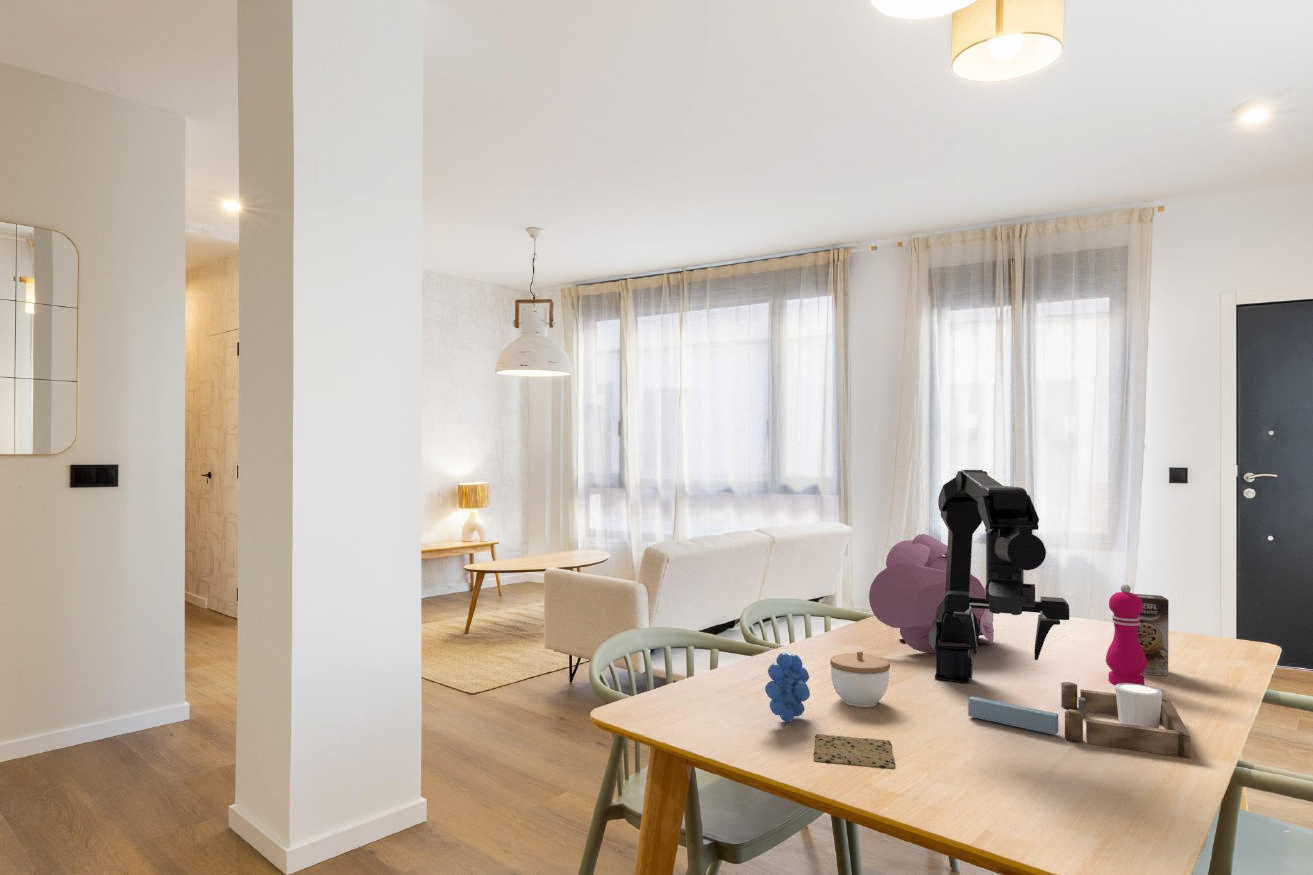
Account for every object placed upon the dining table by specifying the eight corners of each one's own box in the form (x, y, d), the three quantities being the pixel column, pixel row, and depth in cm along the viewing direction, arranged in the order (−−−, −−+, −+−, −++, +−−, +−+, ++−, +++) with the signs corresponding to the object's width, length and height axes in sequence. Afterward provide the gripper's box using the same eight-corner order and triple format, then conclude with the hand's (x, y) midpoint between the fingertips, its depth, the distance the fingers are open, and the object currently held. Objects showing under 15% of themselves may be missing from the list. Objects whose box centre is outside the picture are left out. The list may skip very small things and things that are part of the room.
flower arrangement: (925, 645, 211) (908, 540, 217) (1018, 640, 197) (997, 528, 204) (875, 658, 183) (857, 537, 189) (980, 653, 170) (957, 523, 176)
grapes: (789, 736, 128) (789, 662, 128) (755, 726, 132) (756, 654, 133) (827, 719, 136) (828, 650, 136) (794, 710, 141) (795, 643, 141)
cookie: (891, 742, 126) (891, 736, 126) (896, 772, 115) (896, 765, 115) (815, 736, 129) (815, 730, 129) (812, 764, 117) (812, 758, 117)
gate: (1055, 734, 128) (1055, 716, 128) (968, 715, 137) (968, 698, 137) (1058, 732, 130) (1058, 713, 130) (971, 713, 139) (971, 696, 139)
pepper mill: (1153, 689, 155) (1152, 588, 156) (1113, 687, 157) (1112, 586, 157) (1138, 679, 162) (1138, 582, 163) (1100, 677, 164) (1100, 580, 164)
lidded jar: (837, 690, 153) (837, 642, 154) (894, 698, 149) (894, 648, 149) (824, 706, 144) (824, 654, 144) (884, 714, 139) (884, 661, 139)
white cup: (1105, 723, 135) (1105, 682, 135) (1143, 722, 136) (1143, 682, 136) (1133, 738, 128) (1133, 694, 128) (1173, 737, 129) (1172, 694, 129)
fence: (1065, 740, 127) (1064, 712, 127) (1061, 704, 146) (1061, 679, 146) (1191, 759, 119) (1190, 728, 119) (1169, 718, 138) (1169, 691, 138)
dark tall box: (1119, 671, 168) (1119, 596, 169) (1114, 664, 174) (1114, 591, 174) (1169, 676, 165) (1169, 599, 165) (1163, 668, 171) (1162, 594, 171)
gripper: (942, 564, 128) (942, 662, 127) (1072, 571, 120) (1073, 675, 120) (946, 557, 138) (946, 647, 137) (1065, 563, 130) (1066, 658, 130)
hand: (1005, 657), depth 131 cm, fingers open, 9 cm apart
